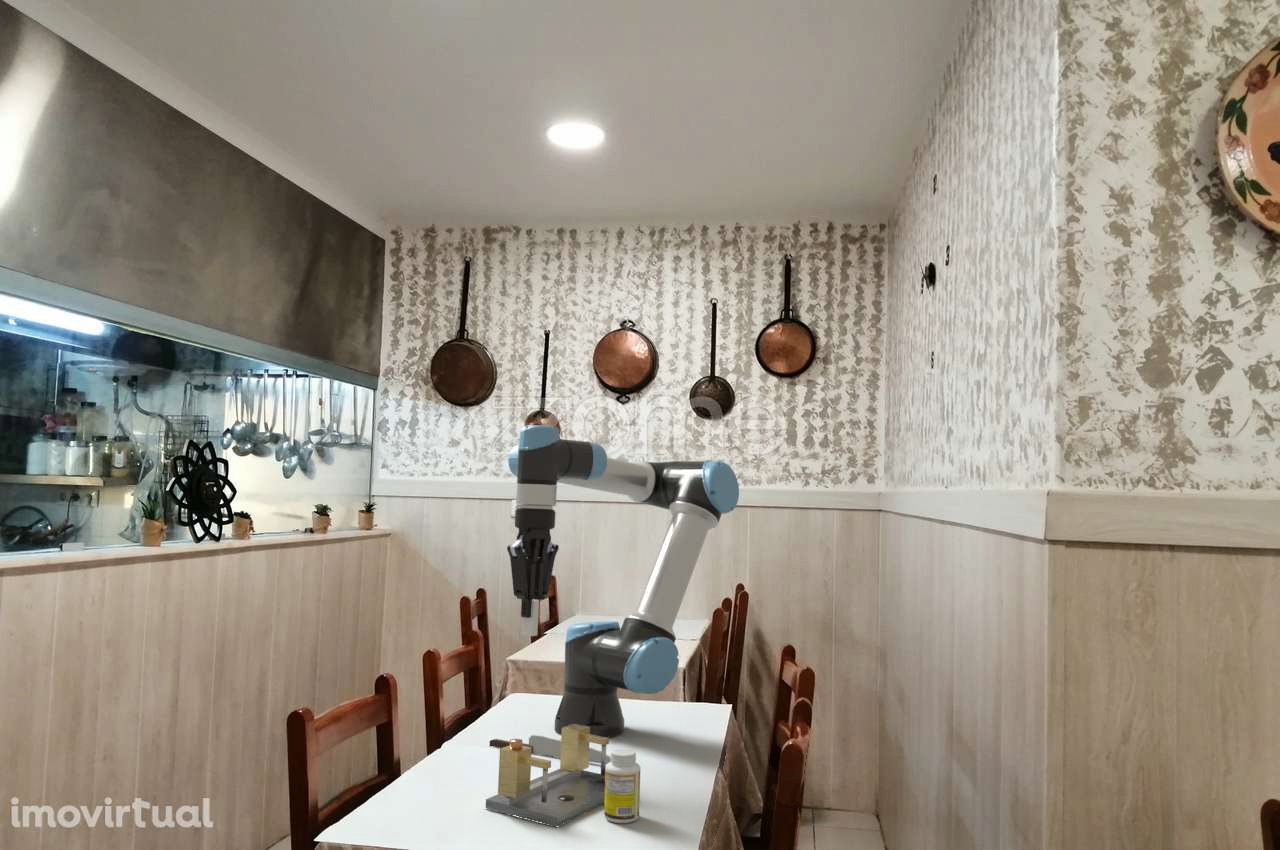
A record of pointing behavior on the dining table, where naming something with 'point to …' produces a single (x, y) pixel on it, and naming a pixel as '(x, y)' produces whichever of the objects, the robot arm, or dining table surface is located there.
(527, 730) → the dining table surface
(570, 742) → the fixed leg
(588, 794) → the bolt plate
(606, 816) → the supplement bottle
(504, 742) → the kitchen knife
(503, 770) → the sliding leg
